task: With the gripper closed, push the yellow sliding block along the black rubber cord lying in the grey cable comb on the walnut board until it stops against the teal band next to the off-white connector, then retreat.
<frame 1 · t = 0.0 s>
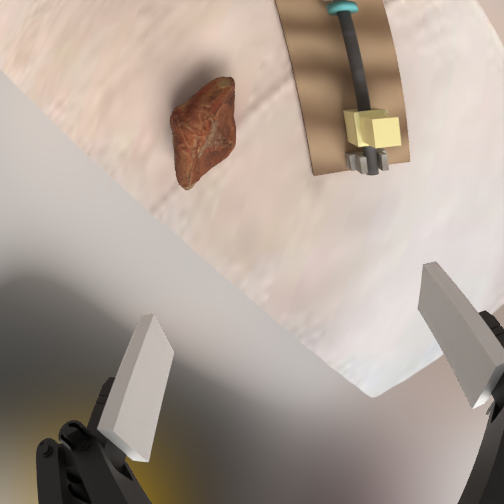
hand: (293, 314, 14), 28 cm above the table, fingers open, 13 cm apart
yellow sliding block: (372, 127, 30), point 6 cm above the table, slide at 0.0 cm
fossil: (206, 127, 36), on the table
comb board: (348, 71, 32), on the table
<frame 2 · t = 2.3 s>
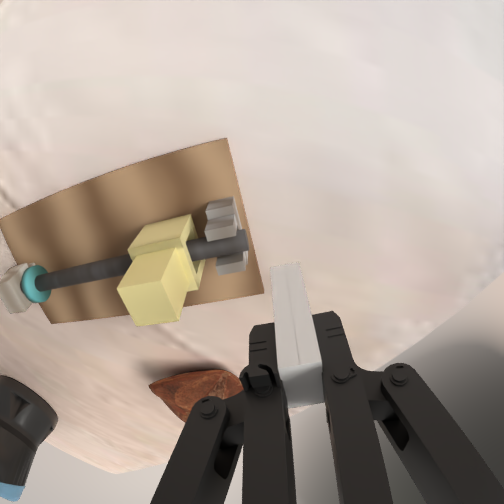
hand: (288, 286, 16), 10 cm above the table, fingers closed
yellow sliding block: (163, 269, 21), point 5 cm above the table, slide at 0.0 cm
fossil: (210, 377, 35), on the table
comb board: (111, 251, 26), on the table
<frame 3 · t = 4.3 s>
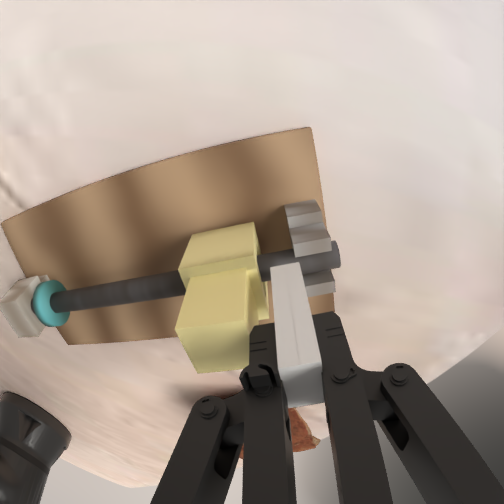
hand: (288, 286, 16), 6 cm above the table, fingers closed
yellow sliding block: (225, 294, 17), point 5 cm above the table, slide at 0.5 cm, touching gripper
fossil: (254, 400, 31), on the table
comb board: (148, 263, 22), on the table
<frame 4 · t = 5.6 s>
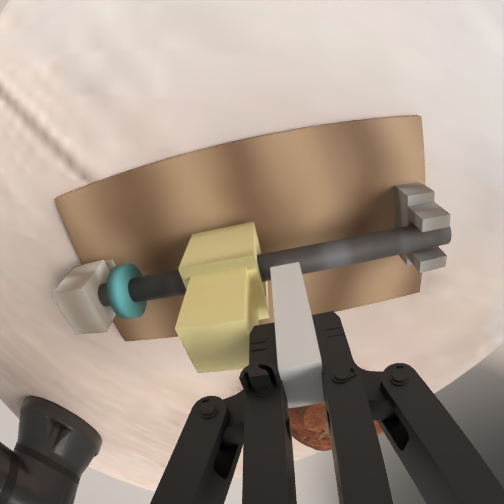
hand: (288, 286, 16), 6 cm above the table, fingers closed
yellow sliding block: (225, 294, 17), point 6 cm above the table, slide at 8.1 cm, touching gripper
fossil: (323, 390, 30), on the table
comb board: (246, 243, 21), on the table
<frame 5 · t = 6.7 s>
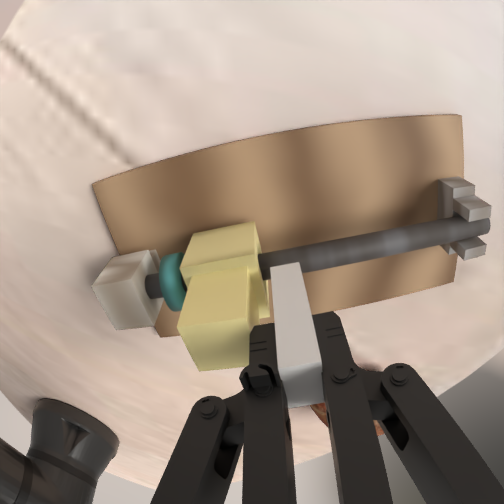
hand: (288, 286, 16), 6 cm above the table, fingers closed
yellow sliding block: (226, 292, 17), point 6 cm above the table, slide at 11.7 cm, touching gripper
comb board: (299, 233, 21), on the table
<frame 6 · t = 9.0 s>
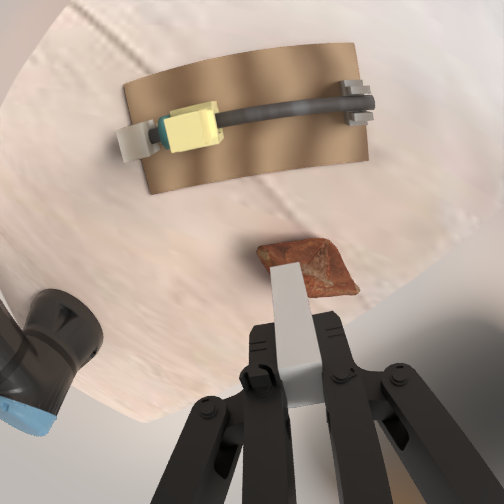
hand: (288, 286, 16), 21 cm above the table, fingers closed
yellow sliding block: (194, 126, 27), point 5 cm above the table, slide at 11.8 cm
fossil: (303, 256, 40), on the table
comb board: (247, 113, 31), on the table
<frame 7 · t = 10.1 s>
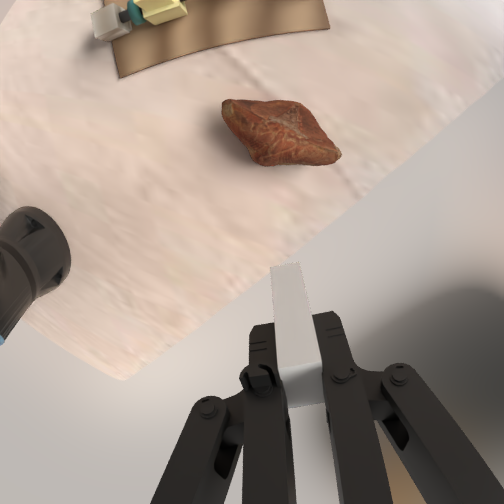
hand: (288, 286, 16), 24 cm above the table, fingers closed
fossil: (276, 130, 35), on the table
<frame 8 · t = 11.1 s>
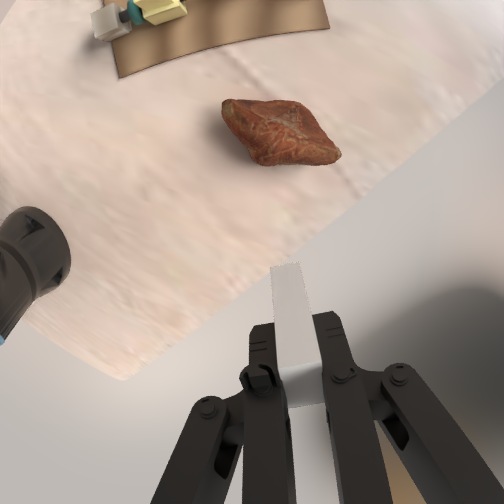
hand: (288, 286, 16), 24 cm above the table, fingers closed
fossil: (276, 130, 35), on the table
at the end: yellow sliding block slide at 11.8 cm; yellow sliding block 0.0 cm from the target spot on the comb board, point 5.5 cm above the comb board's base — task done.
